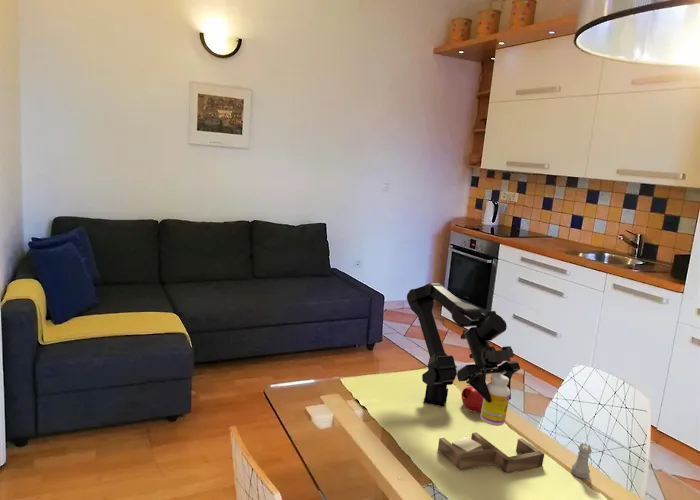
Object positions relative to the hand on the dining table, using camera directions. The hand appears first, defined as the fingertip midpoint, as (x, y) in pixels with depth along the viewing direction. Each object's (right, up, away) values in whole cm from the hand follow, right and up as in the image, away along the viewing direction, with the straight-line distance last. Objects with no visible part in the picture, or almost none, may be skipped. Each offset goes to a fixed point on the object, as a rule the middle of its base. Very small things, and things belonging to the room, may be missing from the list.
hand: (499, 400), depth 142 cm
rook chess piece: (+18, -17, -8) cm, 26 cm away
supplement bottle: (-2, -6, +2) cm, 7 cm away
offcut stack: (-10, -13, -5) cm, 17 cm away
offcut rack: (-4, -14, -5) cm, 15 cm away
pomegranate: (-1, -10, +25) cm, 26 cm away
